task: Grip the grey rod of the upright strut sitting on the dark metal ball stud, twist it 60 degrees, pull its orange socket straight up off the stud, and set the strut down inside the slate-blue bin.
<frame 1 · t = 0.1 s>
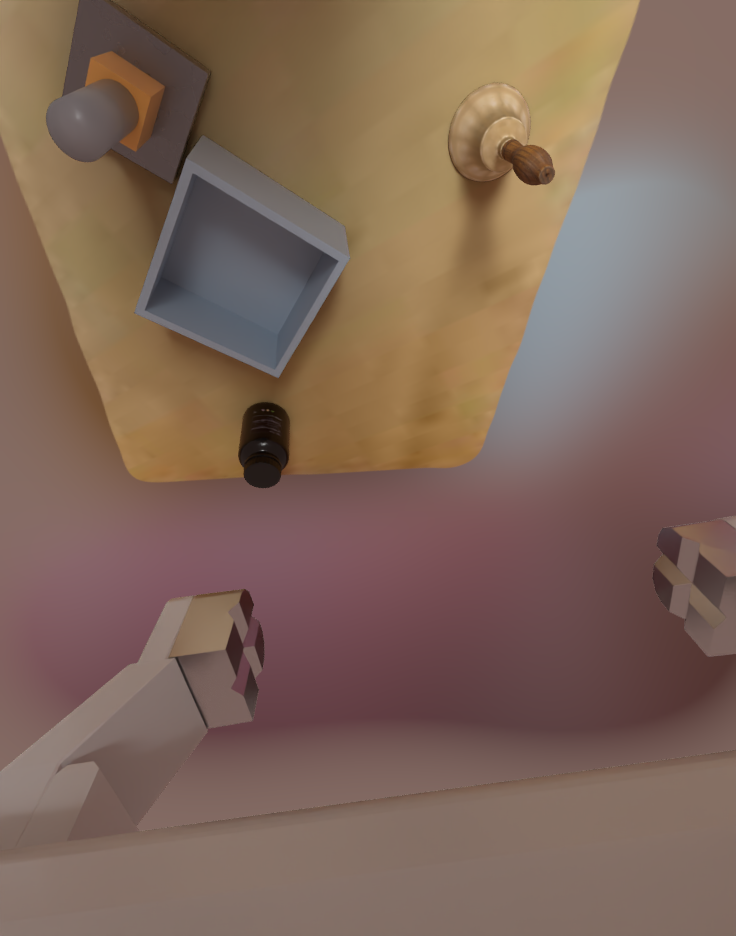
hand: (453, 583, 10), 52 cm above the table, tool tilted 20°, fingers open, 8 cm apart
ball stud base: (137, 92, 44), on the table
bin: (247, 251, 55), on the table
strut: (132, 96, 43), point 2 cm above the table, touching ball stud base
hand bell: (488, 134, 49), on the table
supplement bottle: (267, 418, 72), on the table
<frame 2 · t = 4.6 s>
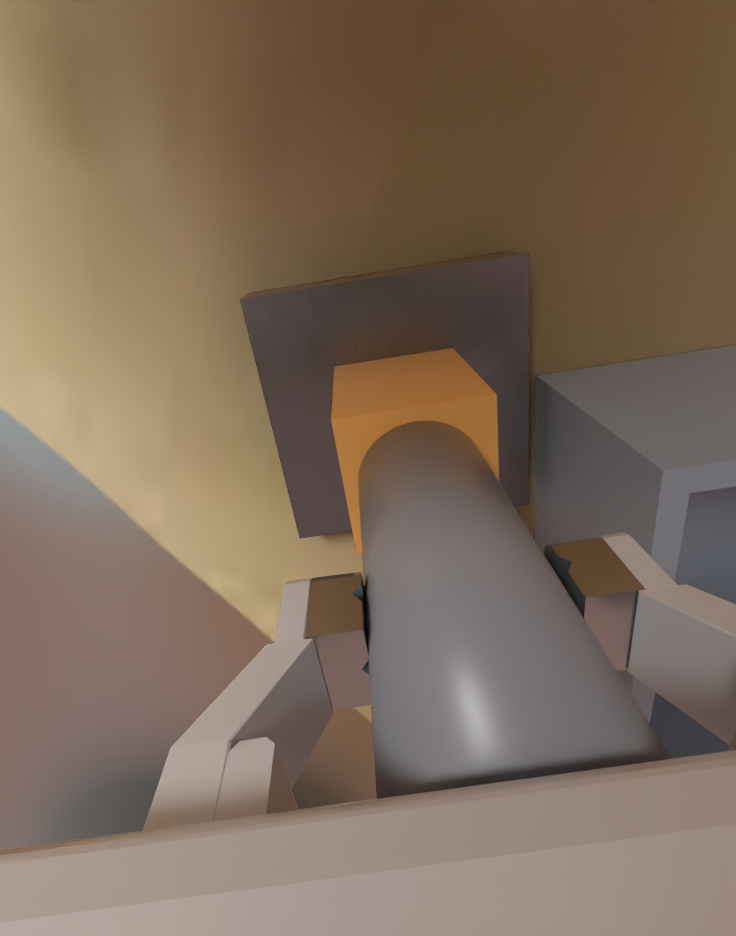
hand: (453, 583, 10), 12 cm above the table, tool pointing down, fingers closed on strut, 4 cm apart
ball stud base: (395, 397, 20), on the table
bin: (696, 508, 24), on the table
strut: (400, 413, 19), point 2 cm above the table, touching ball stud base, gripper
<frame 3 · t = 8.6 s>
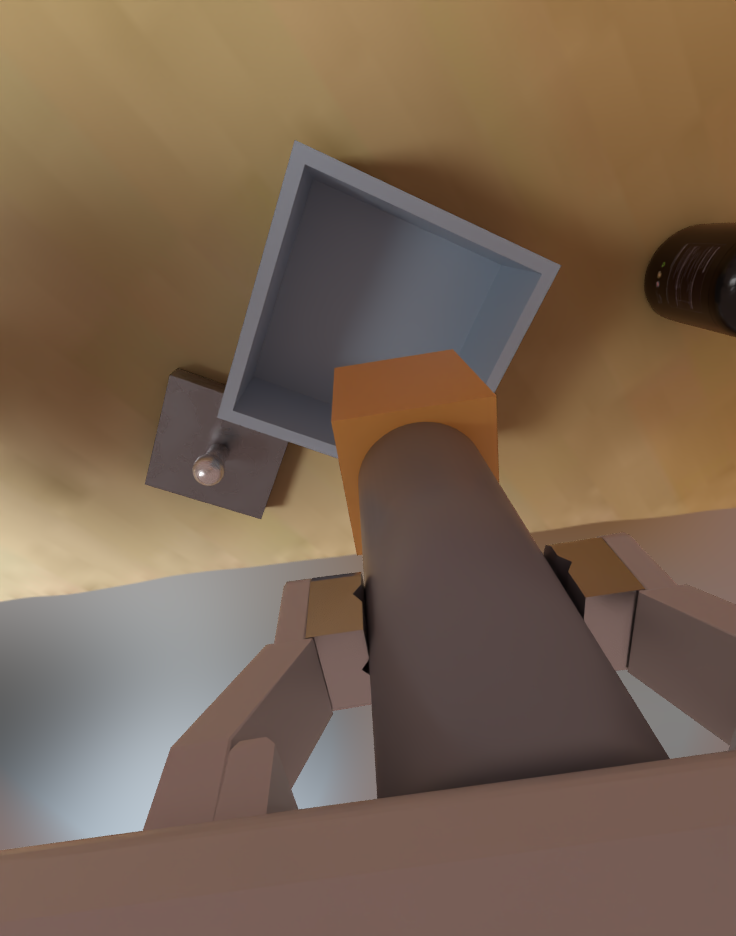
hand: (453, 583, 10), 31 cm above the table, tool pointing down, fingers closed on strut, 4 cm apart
ball stud base: (224, 442, 41), on the table
bin: (372, 320, 37), on the table
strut: (400, 414, 19), point 21 cm above the table, touching gripper
supplement bottle: (683, 272, 37), on the table
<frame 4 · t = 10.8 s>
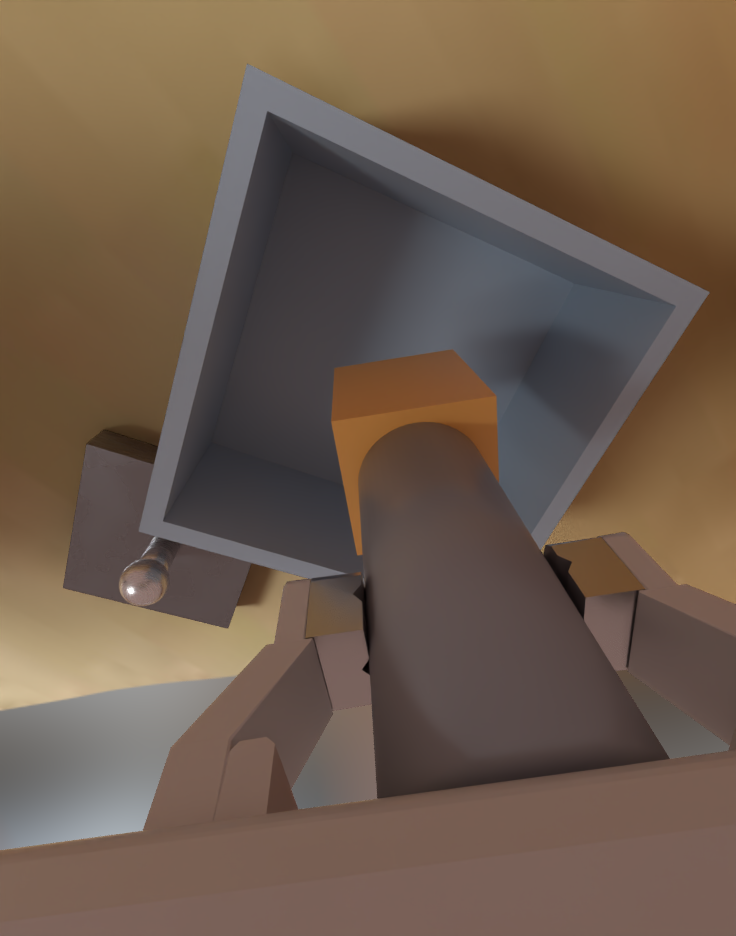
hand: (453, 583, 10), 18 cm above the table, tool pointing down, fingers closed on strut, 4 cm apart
ball stud base: (175, 527, 30), on the table
bin: (381, 362, 26), on the table
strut: (400, 414, 19), point 8 cm above the table, touching gripper
when the fingers open (13 cm above the table, at t = 12.6 s): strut drops 2 cm, resting on bin.
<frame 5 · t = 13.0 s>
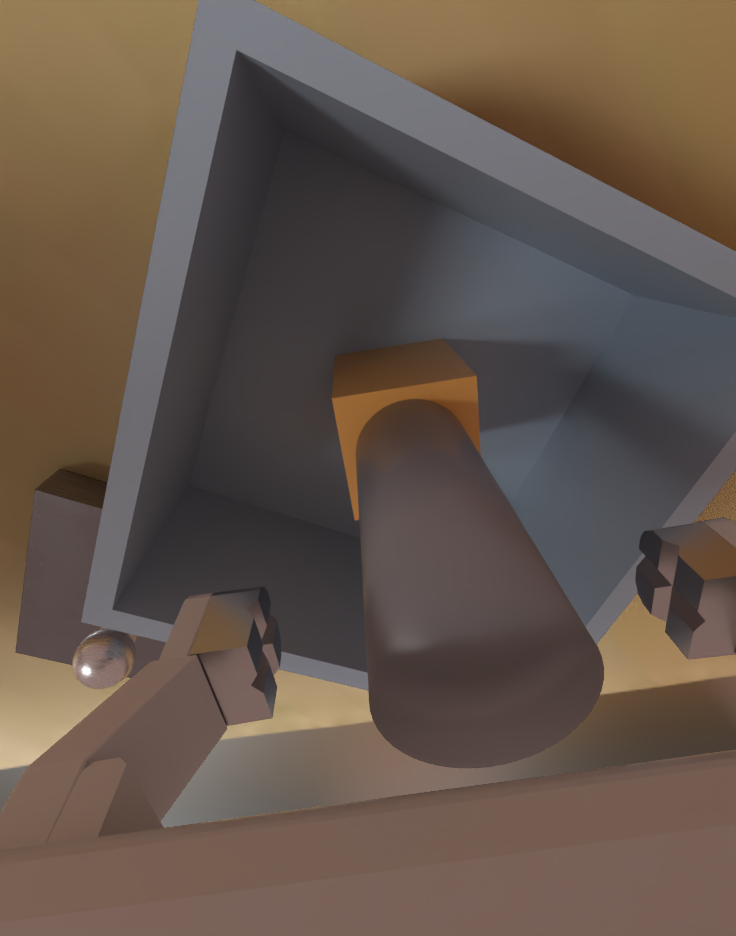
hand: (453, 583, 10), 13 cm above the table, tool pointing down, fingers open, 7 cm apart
ball stud base: (149, 579, 25), on the table
bin: (394, 390, 21), on the table
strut: (395, 398, 20), point 1 cm above the table, touching bin
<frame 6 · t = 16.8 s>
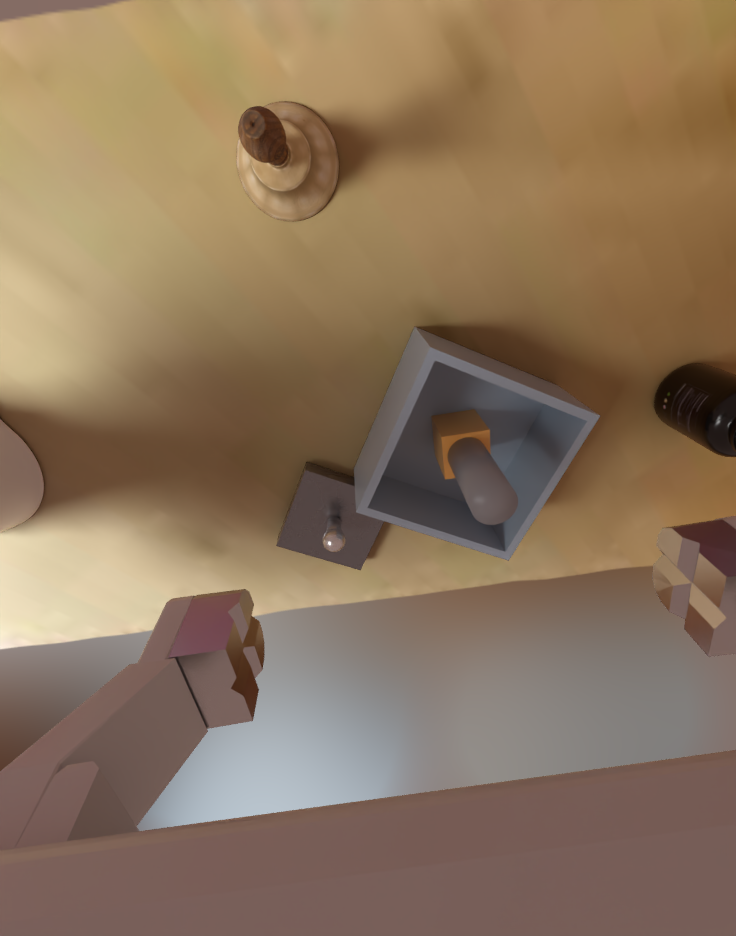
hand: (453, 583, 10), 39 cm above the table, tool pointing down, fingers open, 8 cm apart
ball stud base: (334, 513, 54), on the table
bin: (452, 428, 50), on the table
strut: (454, 432, 50), point 1 cm above the table, touching bin
hand bell: (288, 164, 40), on the table
supplement bottle: (682, 393, 50), on the table
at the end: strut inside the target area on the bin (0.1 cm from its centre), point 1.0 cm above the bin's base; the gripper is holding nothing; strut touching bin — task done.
